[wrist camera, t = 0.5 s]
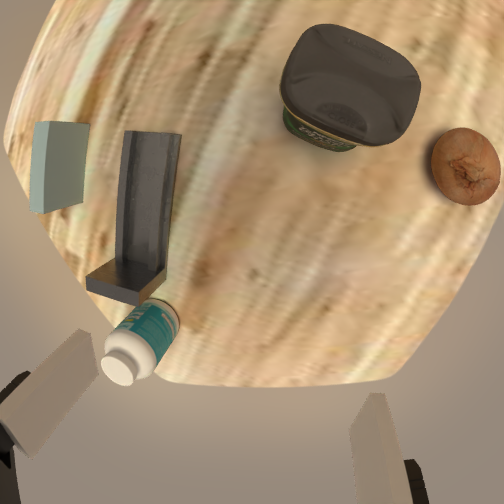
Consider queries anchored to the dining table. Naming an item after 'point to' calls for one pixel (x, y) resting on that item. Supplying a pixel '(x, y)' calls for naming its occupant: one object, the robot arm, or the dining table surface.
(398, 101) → the coffee jar
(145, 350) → the pill bottle
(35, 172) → the gray rectangular block
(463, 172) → the onion
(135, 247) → the floor track
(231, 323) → the dining table surface
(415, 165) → the dining table surface
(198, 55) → the dining table surface
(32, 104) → the dining table surface
